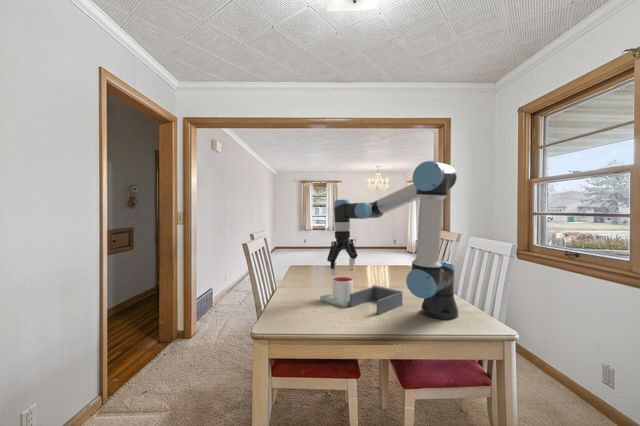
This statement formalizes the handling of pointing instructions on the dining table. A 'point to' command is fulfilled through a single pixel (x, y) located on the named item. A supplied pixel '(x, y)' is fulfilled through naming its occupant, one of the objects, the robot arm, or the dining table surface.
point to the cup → (342, 288)
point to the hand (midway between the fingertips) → (343, 273)
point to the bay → (378, 298)
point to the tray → (331, 300)
